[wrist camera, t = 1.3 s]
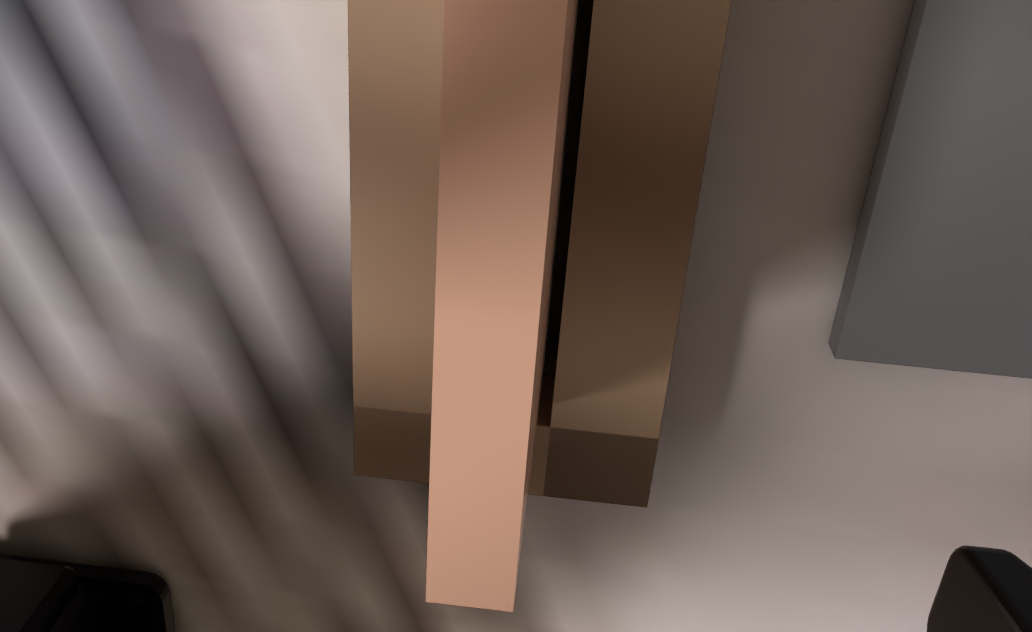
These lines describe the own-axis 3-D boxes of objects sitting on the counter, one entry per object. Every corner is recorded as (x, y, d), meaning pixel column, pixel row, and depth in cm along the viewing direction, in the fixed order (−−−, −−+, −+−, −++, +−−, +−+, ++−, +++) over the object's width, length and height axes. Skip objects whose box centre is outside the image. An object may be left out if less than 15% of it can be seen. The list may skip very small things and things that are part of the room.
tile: (544, 356, 19) (513, 612, 13) (485, 350, 19) (424, 602, 13) (585, -71, 15) (567, 0, 9) (511, -77, 15) (445, -11, 9)
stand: (644, 452, 20) (646, 507, 18) (374, 423, 20) (354, 475, 19) (747, -201, 14) (765, -204, 13) (373, -229, 15) (344, -235, 13)
